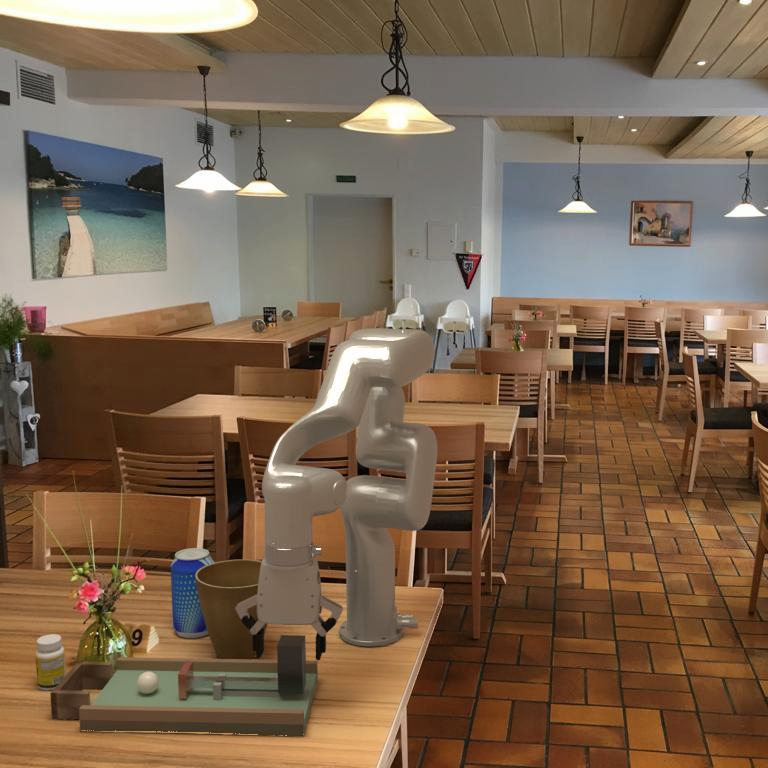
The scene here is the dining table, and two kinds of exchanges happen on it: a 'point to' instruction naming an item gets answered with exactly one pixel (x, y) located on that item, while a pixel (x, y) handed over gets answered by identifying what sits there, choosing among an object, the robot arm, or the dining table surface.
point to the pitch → (199, 700)
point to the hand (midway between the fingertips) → (289, 655)
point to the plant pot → (228, 605)
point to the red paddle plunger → (288, 680)
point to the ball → (147, 682)
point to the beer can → (188, 592)
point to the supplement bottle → (50, 661)
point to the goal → (78, 688)
